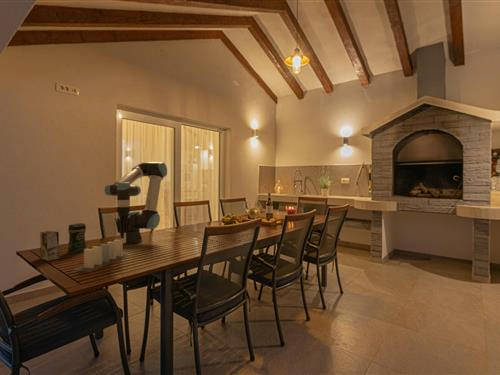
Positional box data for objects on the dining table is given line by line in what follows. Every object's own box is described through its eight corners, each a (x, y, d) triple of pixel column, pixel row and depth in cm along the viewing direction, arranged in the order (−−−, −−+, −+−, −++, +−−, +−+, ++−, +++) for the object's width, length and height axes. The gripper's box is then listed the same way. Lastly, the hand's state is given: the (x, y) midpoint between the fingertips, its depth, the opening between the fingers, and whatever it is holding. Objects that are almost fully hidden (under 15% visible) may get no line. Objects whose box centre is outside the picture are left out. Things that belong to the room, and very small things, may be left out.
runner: (113, 254, 168) (113, 253, 168) (129, 256, 166) (129, 255, 165) (71, 270, 139) (71, 269, 139) (89, 272, 136) (89, 272, 136)
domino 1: (86, 266, 145) (86, 248, 144) (94, 267, 143) (94, 249, 143) (84, 267, 143) (84, 249, 143) (91, 268, 142) (91, 250, 141)
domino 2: (94, 263, 150) (94, 246, 149) (102, 264, 149) (101, 246, 148) (92, 264, 148) (92, 246, 148) (99, 265, 147) (99, 247, 147)
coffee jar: (72, 254, 168) (72, 225, 167) (66, 252, 172) (65, 224, 171) (88, 250, 176) (88, 223, 175) (81, 248, 180) (81, 222, 179)
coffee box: (59, 258, 159) (59, 232, 159) (47, 261, 154) (46, 233, 153) (52, 255, 164) (52, 230, 163) (40, 258, 158) (39, 232, 158)
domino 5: (116, 255, 166) (115, 239, 166) (122, 255, 165) (122, 240, 164) (114, 255, 164) (114, 240, 164) (120, 256, 163) (120, 240, 163)
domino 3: (102, 260, 155) (102, 243, 155) (109, 261, 154) (109, 244, 154) (100, 261, 154) (99, 244, 153) (107, 262, 152) (107, 245, 152)
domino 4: (109, 257, 161) (109, 241, 160) (116, 258, 159) (116, 242, 159) (107, 258, 159) (107, 242, 159) (114, 259, 158) (114, 242, 157)
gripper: (125, 205, 175) (125, 240, 176) (110, 207, 162) (110, 244, 163) (135, 205, 173) (135, 241, 174) (121, 207, 161) (121, 245, 161)
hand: (123, 242), depth 168 cm, fingers closed
